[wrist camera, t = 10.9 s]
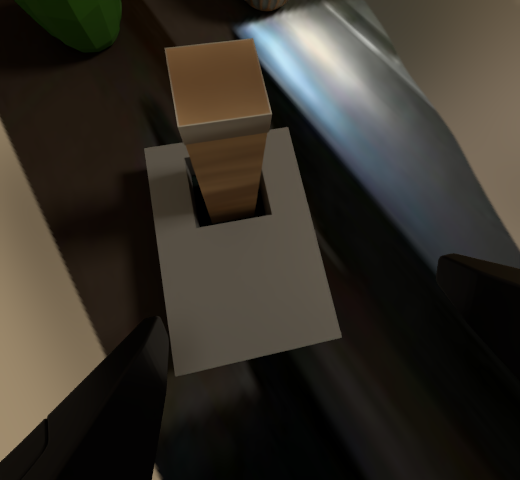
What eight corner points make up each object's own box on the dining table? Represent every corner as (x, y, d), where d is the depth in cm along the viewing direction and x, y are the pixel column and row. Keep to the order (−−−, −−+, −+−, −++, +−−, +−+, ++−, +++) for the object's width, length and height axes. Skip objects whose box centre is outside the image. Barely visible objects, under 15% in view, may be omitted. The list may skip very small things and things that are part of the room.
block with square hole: (328, 333, 22) (341, 337, 19) (184, 366, 21) (175, 376, 18) (282, 147, 25) (288, 127, 22) (155, 167, 24) (144, 148, 21)
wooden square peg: (254, 216, 24) (271, 113, 11) (211, 224, 23) (177, 127, 11) (246, 176, 24) (253, 38, 12) (204, 183, 24) (164, 48, 11)
